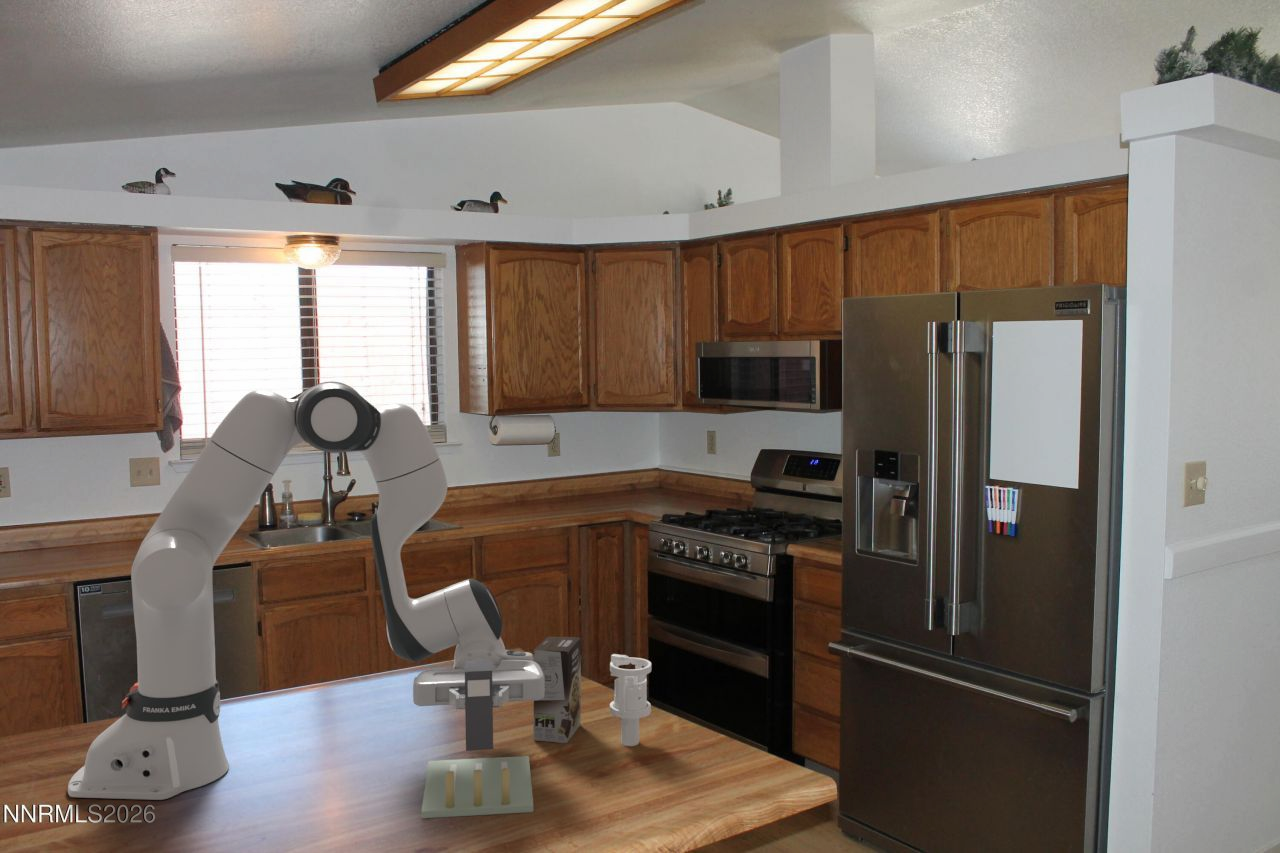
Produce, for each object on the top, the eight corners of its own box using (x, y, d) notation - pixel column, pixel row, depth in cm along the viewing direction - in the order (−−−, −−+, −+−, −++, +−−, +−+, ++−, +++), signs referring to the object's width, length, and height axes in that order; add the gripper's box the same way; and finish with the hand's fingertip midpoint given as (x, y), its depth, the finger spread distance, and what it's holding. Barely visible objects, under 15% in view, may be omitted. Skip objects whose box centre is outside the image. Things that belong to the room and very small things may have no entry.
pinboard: (421, 818, 146) (421, 777, 146) (428, 766, 164) (428, 730, 163) (533, 811, 148) (533, 772, 148) (528, 761, 166) (528, 726, 166)
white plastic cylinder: (620, 732, 179) (621, 648, 178) (657, 739, 176) (658, 654, 175) (602, 746, 173) (602, 659, 172) (639, 753, 170) (640, 665, 169)
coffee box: (568, 744, 174) (568, 651, 172) (532, 741, 175) (532, 649, 174) (582, 724, 183) (582, 636, 181) (547, 722, 184) (547, 634, 183)
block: (465, 751, 151) (464, 672, 150) (466, 737, 156) (465, 661, 155) (493, 749, 151) (492, 671, 150) (493, 736, 156) (492, 660, 155)
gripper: (414, 657, 164) (407, 686, 150) (541, 652, 167) (546, 679, 153) (415, 695, 165) (408, 727, 151) (542, 689, 168) (546, 720, 154)
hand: (479, 703), depth 152 cm, fingers closed on block, 4 cm apart
